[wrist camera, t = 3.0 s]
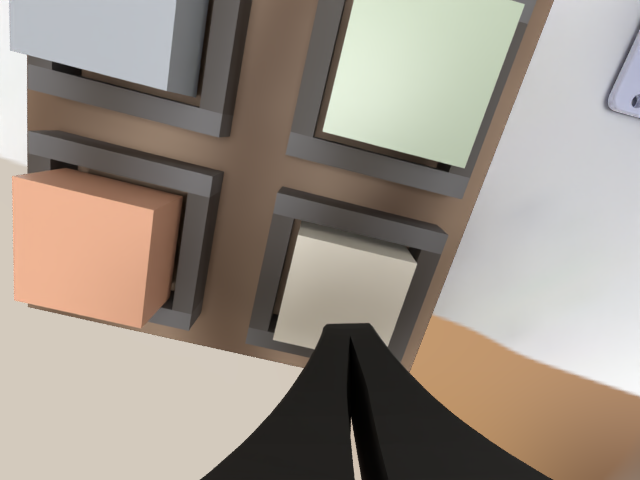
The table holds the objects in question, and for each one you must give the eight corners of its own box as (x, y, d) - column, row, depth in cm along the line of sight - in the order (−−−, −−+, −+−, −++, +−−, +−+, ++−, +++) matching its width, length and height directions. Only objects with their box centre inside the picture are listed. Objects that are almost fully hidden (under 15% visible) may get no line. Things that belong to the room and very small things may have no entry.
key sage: (485, 28, 12) (524, 4, 9) (440, 161, 13) (464, 168, 11) (356, -9, 11) (364, -43, 9) (323, 130, 13) (322, 131, 10)
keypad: (534, -14, 14) (600, -58, 11) (395, 364, 19) (409, 413, 16) (70, -150, 13) (-19, -247, 10) (59, 288, 18) (-1, 324, 15)
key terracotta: (183, 196, 14) (153, 210, 11) (169, 297, 15) (141, 328, 13) (66, 167, 13) (12, 176, 11) (63, 273, 15) (14, 300, 12)
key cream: (403, 243, 15) (417, 263, 13) (373, 331, 16) (381, 364, 14) (302, 218, 15) (298, 234, 13) (280, 309, 16) (272, 339, 14)
